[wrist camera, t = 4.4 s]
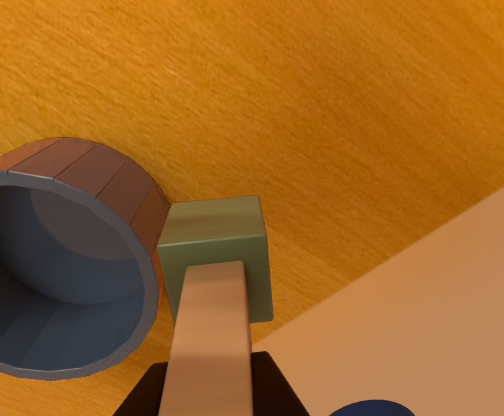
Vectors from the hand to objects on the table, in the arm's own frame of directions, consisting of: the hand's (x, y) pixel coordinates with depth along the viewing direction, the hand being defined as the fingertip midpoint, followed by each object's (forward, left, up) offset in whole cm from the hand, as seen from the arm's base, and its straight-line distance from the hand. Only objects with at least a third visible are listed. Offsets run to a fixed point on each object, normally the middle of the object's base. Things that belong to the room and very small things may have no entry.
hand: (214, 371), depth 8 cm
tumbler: (-2, +8, -13) cm, 15 cm away
